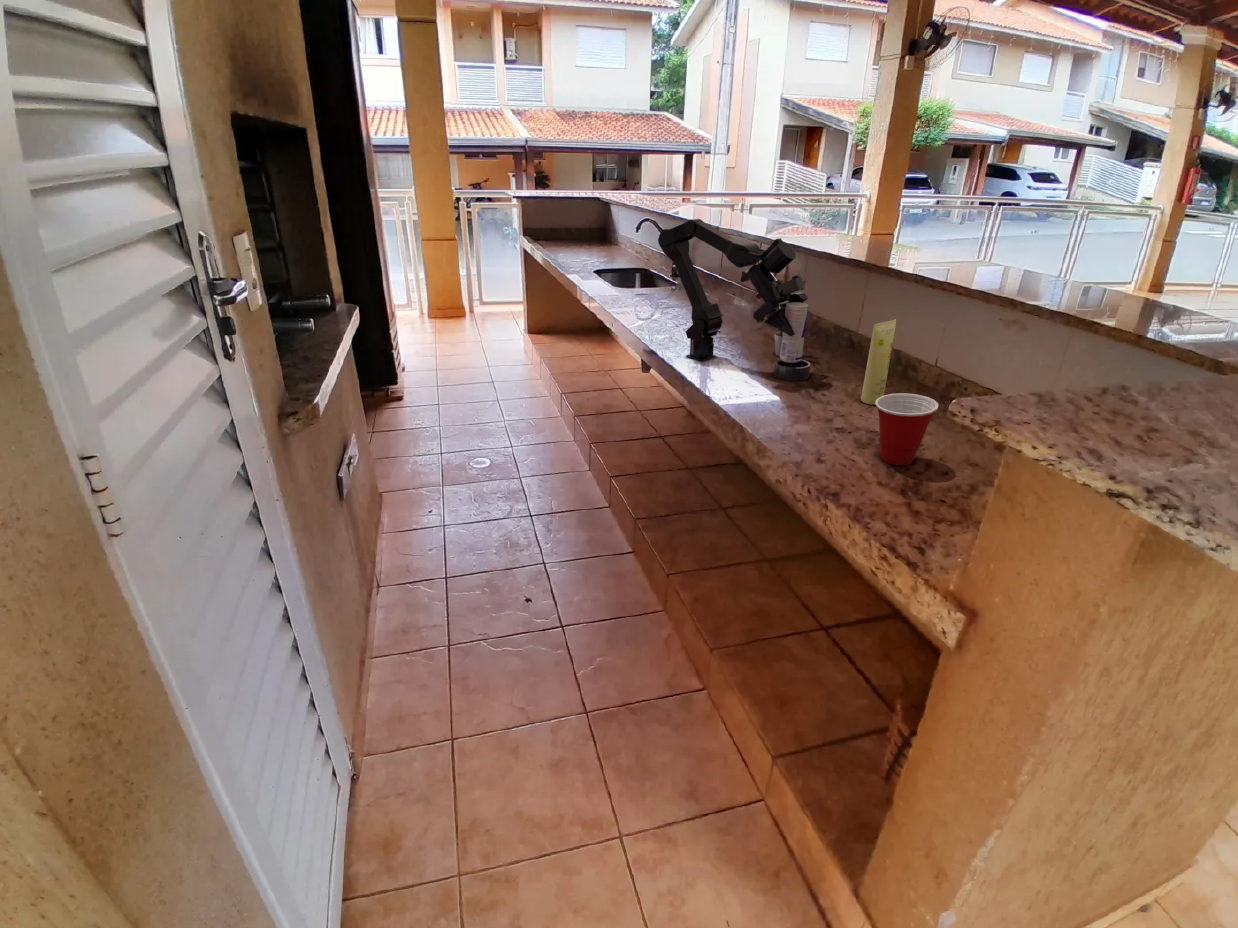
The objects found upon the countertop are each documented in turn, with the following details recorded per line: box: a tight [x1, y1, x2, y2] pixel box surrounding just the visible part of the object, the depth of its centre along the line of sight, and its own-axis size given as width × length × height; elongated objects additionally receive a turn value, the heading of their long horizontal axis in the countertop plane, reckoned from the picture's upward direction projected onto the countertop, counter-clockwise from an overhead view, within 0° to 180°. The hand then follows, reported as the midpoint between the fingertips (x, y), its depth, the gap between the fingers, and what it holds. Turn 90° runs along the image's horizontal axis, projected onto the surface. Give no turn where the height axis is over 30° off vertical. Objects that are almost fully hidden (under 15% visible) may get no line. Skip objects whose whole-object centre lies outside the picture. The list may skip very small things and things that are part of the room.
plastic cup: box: [875, 392, 940, 466], centre depth 117 cm, size 11×11×12 cm
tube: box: [860, 318, 897, 406], centre depth 144 cm, size 6×5×20 cm
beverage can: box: [779, 302, 809, 363], centre depth 161 cm, size 6×6×15 cm
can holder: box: [773, 358, 812, 382], centre depth 167 cm, size 9×9×4 cm
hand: (798, 333), depth 160 cm, fingers closed on beverage can, 5 cm apart
